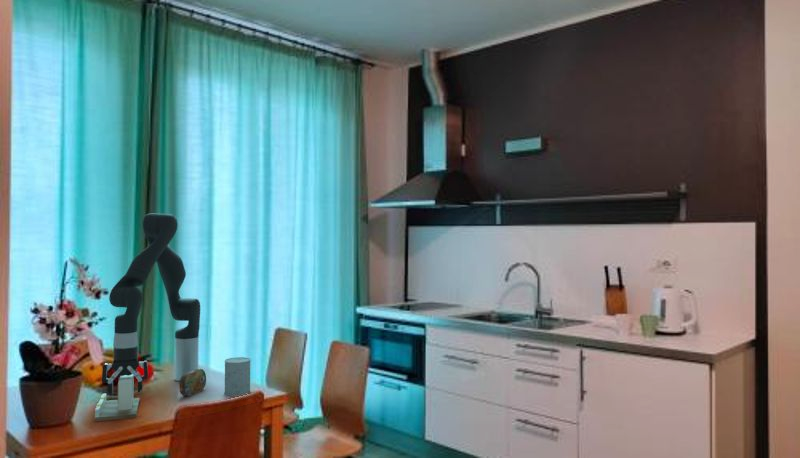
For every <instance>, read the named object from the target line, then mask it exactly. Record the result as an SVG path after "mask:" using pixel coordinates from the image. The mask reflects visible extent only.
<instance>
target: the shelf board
mask: <svg viewBox="0 0 800 458" xmlns="http://www.w3.org/2000/svg"><path fill="white" fill-rule="evenodd" d="M140 400H141V398H140V397H134V400H133V406H132V409H129V410H118V399H110V400H106V403H105V405H104V407H103V410H102V412H101V414H100V416H99V417H97V418H95V417H94V422H103V421H114V420H124V419H135V418H134V417H136V418H137V415H138V410H139V407H140V402H141V401H140Z"/></svg>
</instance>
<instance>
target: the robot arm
mask: <svg viewBox="0 0 800 458" xmlns="http://www.w3.org/2000/svg"><path fill="white" fill-rule="evenodd" d="M178 225H179V224H178V220H177V218H176V216H175V215H174V214H170V213H159V212H158V213H157V212H155V213H154V212H151V213H147V214H145V215H144V217H143V219H142V230H143V233H144V235H145V238H146V240H147V242H148V244H149V245H148V246H147V247H146V248H144V249H143V250H142V251H140V252H139V253H138V254H137V255H136V256H135V257H134V258H133V260H132V261H131V263H130V265H129V267H128V268H127V271H126V273H125V274H124V275H123V276H122V277H121V278H120V279H119V280H118V281H117V283H116V284H115V285H114V286H113V288H112V289H111V291H110V293H109V297H108V299H109V303H110V305H111V306H113V307H115V308H126V310H125V312H124V313H122V314H119V315H116V316H115V318H114V336H113V343H112V347H113V355H112V356H113V362H112V363H107V362H105V363H103V365H102V371H101V372H102V373H101V382H102V383H105V384H107V393H108V394H109V395H110V396H112V395H113V394H114V382H113V381H114V380H115V379H116V378H117V377H118V376H119V377H120V376H124V375H127V376H129V375H132V374H133V375H134V378H136V379H137V393H141V392H142V391H143V381H144V380H147V379H148V378H149V365H148V360H144V361H139V359H138V358H139V357H138V355H139V354H138V352H139V349H138V348H139V345H138V344H139V338H138V337H139V336H138V319H139V316H140V315H139V314H140V312H141V308H142V304H143V300H144V294H143V291H142V290H141V289H140V288H139V287H141V286H143V285H144V284H145V283H146V282H147V280H148V279H149V276H150V274H151V272H152V269H153V268H154V265H155V264H157V269H158V272H159V275H160V278H161V280H162V283H163V285H164V289H165V292H166V296H167V301H168V306H169V312H170V315H171V317H172V319H173V320H175V321H178V322H179V321H180V322H186V321H187V322H188V323H187V325H186V326H185V327H182V328H180V329H177V330H175V333H174V381H178V382H180V379H181V377H182V376H183V375H184V374H186V373H189V372H191V371H193V370H196V369H199V351H200V350H199V348H200V347H199V346H200V345H199V342H200V341H199V337H200V334H199V333H200V322H201V303H200V300H199V299H197V298H191V297H190V298H187V297H186V298H182V297H181V296H180V293H179V292H180V289H181V287H182V285H183V283H184V281H185V279H186V276H187V275H186V269H185V266H184V265H185V264H184V262H183V260H182V258H181V256H180V255H179V254H178V253H177V252H176V251H175V250H174V249H173V248H172V247H171V246H170V245H169V244H170V242H171V241H172V240H173V238H174V236H175V235H176V234H177V230H178ZM139 366H140V368H141V369H143V375H141V373H140V372H139V371H138V368H139ZM110 369H112V370H113V371H114V372H113V374H112V375H111V376H110V377H109V378H108V377H107V376H108V372H109V370H110Z"/></svg>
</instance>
